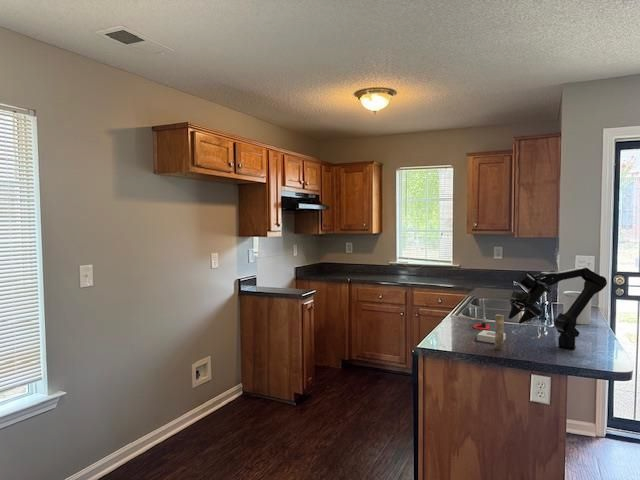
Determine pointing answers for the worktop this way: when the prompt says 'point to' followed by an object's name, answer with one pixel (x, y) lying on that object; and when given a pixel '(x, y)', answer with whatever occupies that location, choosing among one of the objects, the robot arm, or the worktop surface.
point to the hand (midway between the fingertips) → (514, 320)
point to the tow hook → (482, 322)
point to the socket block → (488, 336)
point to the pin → (499, 331)
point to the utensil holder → (568, 301)
